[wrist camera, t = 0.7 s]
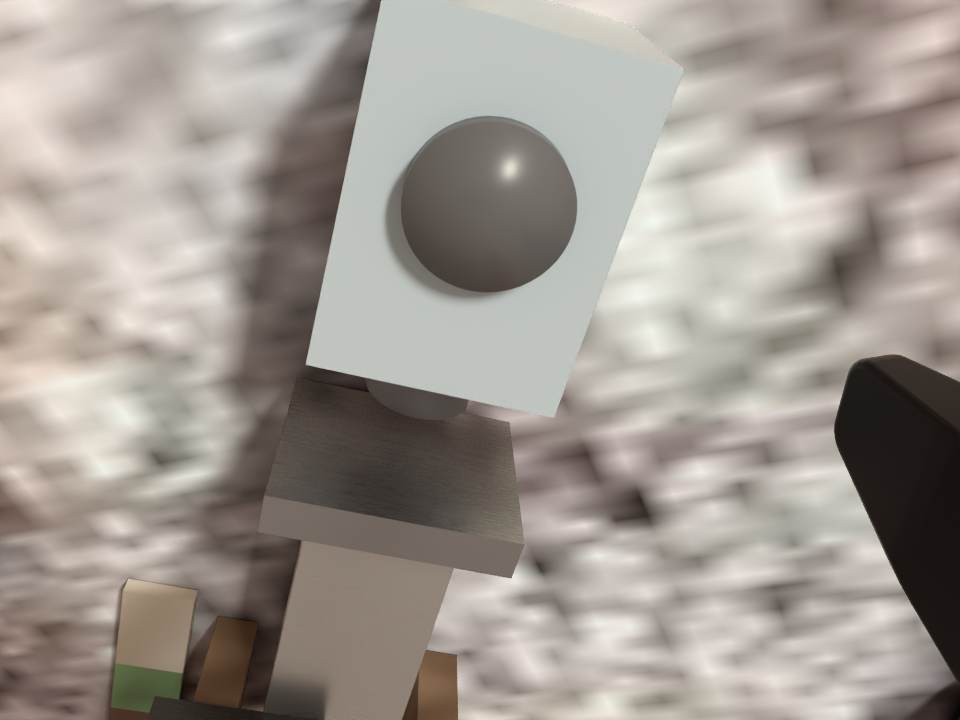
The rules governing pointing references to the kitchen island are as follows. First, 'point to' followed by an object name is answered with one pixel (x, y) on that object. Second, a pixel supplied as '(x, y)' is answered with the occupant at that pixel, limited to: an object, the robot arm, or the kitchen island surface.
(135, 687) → the housing
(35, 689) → the kitchen island surface
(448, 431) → the metal-capped square post
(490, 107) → the block with dome knob
